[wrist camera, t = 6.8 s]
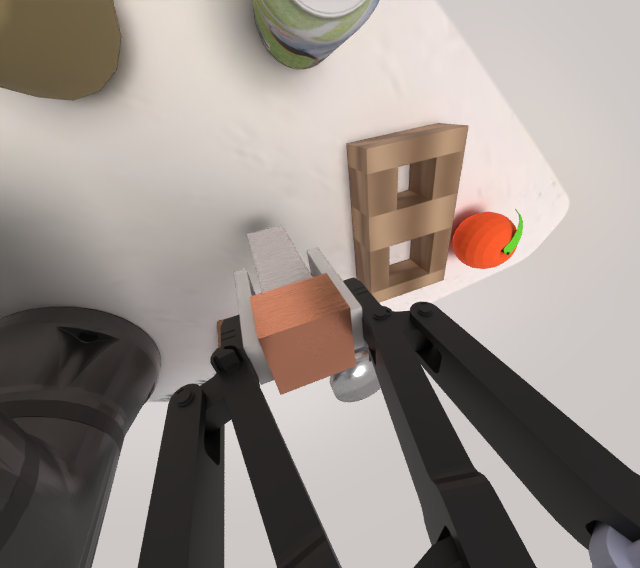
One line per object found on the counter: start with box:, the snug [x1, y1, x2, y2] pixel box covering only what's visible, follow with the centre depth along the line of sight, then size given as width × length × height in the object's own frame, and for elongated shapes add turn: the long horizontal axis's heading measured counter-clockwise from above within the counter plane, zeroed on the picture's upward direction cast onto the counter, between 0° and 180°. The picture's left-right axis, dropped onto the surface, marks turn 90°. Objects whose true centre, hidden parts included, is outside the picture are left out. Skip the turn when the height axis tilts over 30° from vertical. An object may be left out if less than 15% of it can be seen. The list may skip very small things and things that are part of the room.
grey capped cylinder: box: [311, 275, 381, 402], centre depth 27 cm, size 5×5×14 cm
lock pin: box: [247, 225, 356, 394], centre depth 17 cm, size 4×4×12 cm
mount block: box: [347, 123, 468, 302], centre depth 29 cm, size 10×17×4 cm, turn 10°
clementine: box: [452, 209, 523, 269], centre depth 33 cm, size 8×7×7 cm
